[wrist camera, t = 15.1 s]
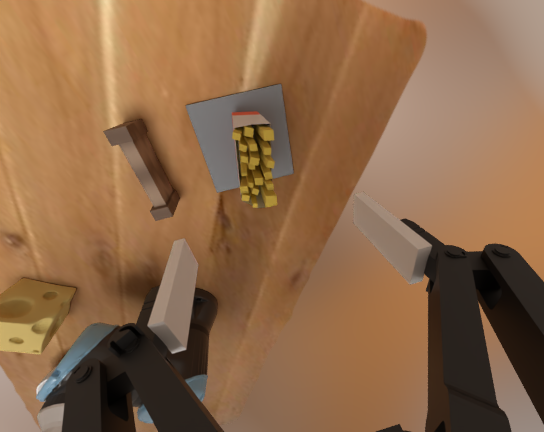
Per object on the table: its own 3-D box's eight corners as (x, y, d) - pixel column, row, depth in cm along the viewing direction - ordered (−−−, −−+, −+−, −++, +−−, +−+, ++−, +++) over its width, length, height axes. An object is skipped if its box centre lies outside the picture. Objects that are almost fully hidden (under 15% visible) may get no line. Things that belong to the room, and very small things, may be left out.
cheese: (78, 286, 50) (48, 327, 42) (69, 315, 54) (41, 357, 46) (19, 275, 46) (-27, 317, 38) (14, 306, 50) (-28, 352, 42)
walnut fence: (179, 198, 44) (172, 216, 38) (164, 202, 44) (155, 220, 38) (141, 118, 36) (125, 126, 30) (123, 123, 35) (103, 131, 30)
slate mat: (292, 172, 45) (293, 173, 45) (217, 191, 44) (217, 192, 44) (280, 83, 37) (281, 83, 36) (186, 105, 36) (185, 105, 35)
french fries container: (235, 172, 42) (241, 222, 27) (228, 110, 37) (231, 130, 22) (259, 170, 43) (277, 218, 28) (255, 109, 37) (276, 128, 22)
